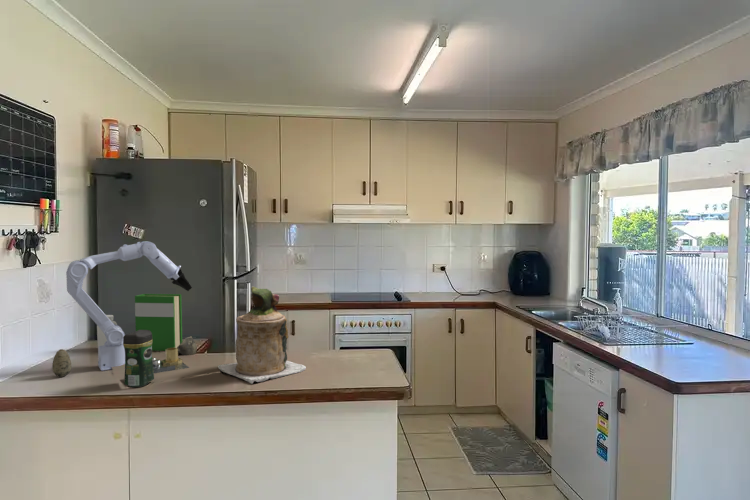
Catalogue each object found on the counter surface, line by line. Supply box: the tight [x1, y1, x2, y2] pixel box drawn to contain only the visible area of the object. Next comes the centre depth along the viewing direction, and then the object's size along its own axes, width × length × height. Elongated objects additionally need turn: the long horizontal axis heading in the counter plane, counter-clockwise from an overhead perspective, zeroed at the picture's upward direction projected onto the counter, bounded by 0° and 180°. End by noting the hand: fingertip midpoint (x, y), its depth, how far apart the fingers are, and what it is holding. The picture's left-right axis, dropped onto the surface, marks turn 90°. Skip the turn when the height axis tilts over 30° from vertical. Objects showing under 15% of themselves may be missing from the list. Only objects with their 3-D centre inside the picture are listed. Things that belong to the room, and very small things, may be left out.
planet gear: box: [161, 348, 183, 366], centre depth 200 cm, size 7×7×6 cm
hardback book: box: [134, 293, 183, 352], centre depth 229 cm, size 18×7×24 cm, turn 84°
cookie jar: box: [217, 286, 307, 385], centre depth 193 cm, size 25×25×32 cm
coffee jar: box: [123, 330, 155, 388], centre depth 178 cm, size 10×8×19 cm
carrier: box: [152, 357, 190, 374], centre depth 198 cm, size 15×17×4 cm
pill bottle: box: [96, 314, 118, 348], centre depth 228 cm, size 8×8×15 cm
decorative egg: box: [51, 348, 72, 378], centre depth 187 cm, size 6×6×10 cm
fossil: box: [177, 335, 198, 356], centre depth 219 cm, size 11×9×10 cm
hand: (188, 287), depth 214 cm, fingers open, 7 cm apart
